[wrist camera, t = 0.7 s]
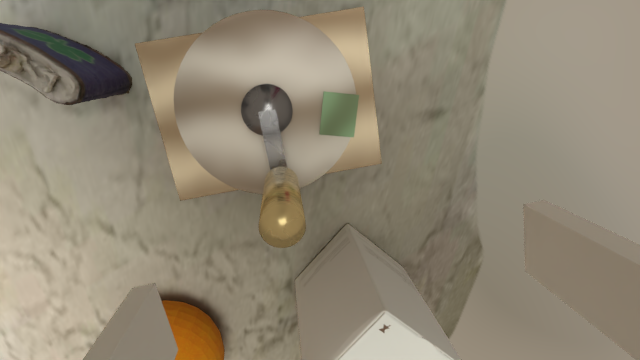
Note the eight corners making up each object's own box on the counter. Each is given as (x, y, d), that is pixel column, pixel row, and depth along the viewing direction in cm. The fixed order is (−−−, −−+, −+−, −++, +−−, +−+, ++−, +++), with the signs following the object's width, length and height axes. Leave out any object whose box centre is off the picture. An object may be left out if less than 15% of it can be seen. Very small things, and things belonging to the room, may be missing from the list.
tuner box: (148, 34, 32) (129, 29, 28) (352, 1, 33) (362, -8, 29) (193, 196, 37) (182, 212, 33) (372, 163, 38) (383, 174, 34)
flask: (18, 49, 32) (-105, 40, 21) (29, 16, 31) (-93, -9, 21) (127, 101, 34) (61, 115, 24) (139, 71, 33) (77, 72, 23)
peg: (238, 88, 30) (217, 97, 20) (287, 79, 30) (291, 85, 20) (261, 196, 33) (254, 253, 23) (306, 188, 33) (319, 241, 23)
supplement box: (291, 280, 41) (297, 395, 26) (346, 220, 39) (385, 307, 25) (352, 323, 43) (388, 450, 29) (406, 268, 42) (472, 372, 27)
